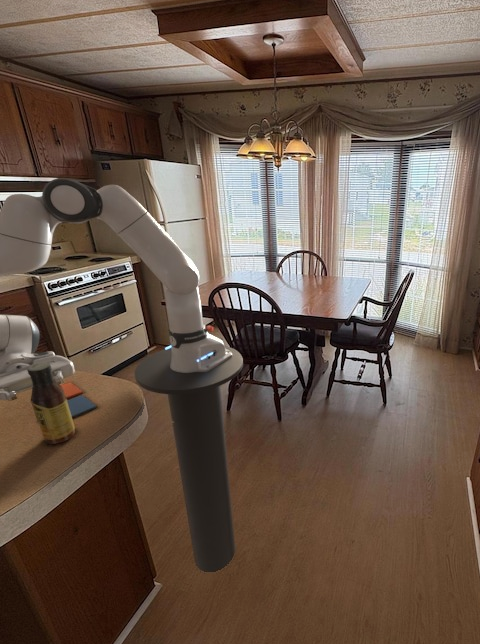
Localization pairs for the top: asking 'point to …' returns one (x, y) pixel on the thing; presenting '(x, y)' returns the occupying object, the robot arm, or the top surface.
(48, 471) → the top surface
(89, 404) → the blue pad
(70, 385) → the terracotta pad
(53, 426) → the sauce bottle
